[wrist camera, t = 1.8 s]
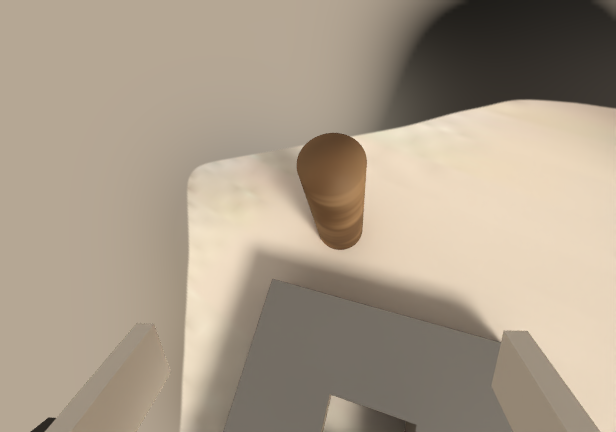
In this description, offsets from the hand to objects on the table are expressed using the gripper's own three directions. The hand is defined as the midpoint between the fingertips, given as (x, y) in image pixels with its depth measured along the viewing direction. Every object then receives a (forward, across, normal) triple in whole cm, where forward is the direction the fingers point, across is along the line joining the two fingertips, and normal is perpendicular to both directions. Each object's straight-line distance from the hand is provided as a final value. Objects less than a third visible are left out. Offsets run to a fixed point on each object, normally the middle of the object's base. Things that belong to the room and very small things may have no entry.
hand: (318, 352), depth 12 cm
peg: (+20, 0, -4) cm, 20 cm away
